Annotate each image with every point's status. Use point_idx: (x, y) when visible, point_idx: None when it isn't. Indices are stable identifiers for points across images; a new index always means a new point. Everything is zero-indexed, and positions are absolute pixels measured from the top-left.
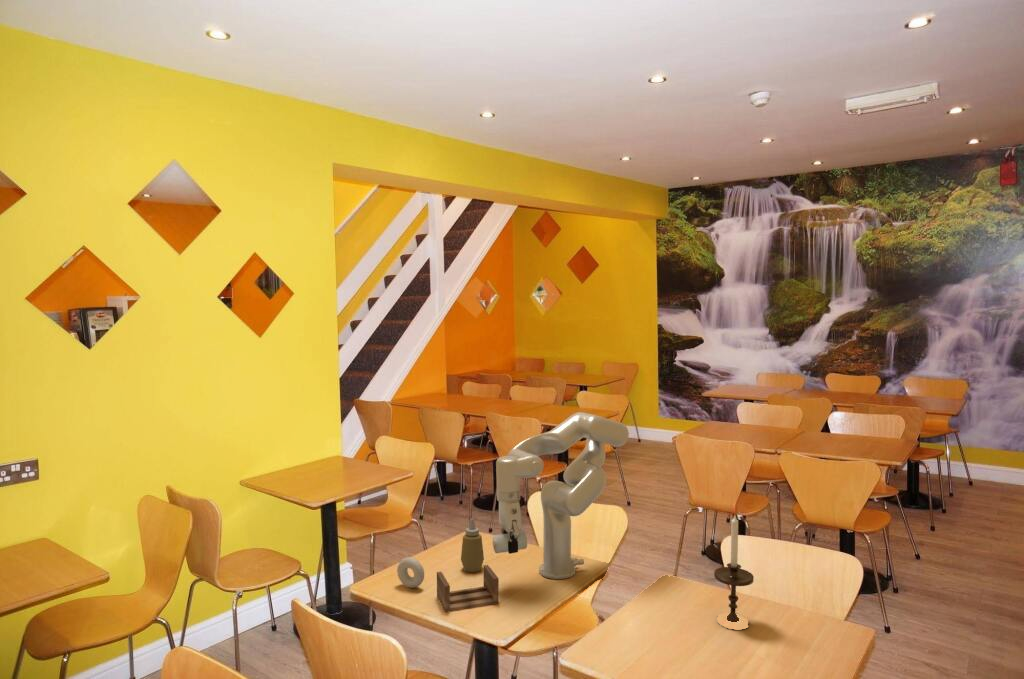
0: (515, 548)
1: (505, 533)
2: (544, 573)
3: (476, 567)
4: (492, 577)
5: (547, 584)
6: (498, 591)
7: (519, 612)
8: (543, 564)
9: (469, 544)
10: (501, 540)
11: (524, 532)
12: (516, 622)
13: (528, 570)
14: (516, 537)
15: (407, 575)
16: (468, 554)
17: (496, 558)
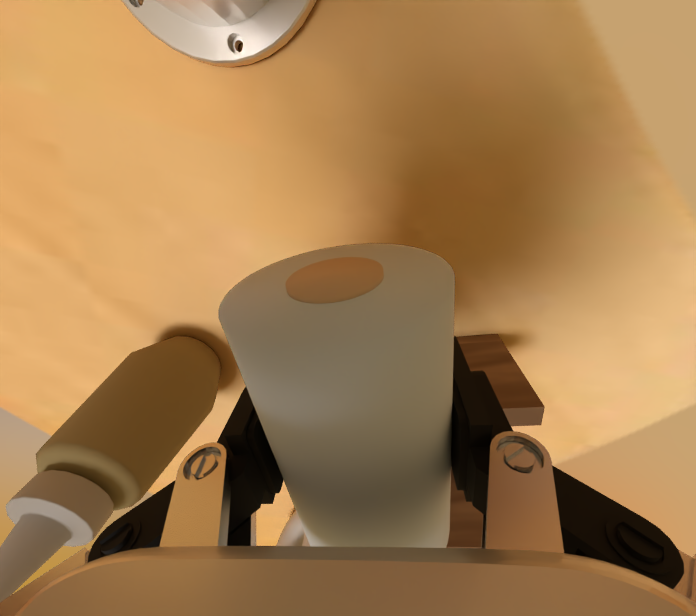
0: (487, 388)
1: (259, 490)
2: (275, 38)
3: (213, 367)
4: (514, 424)
5: (383, 52)
6: (515, 363)
7: (611, 277)
8: (183, 14)
9: (159, 472)
10: (436, 542)
11: (359, 346)
12: (683, 306)
13: (192, 128)
14: (684, 563)
15: (299, 544)
16: (190, 434)
17: (70, 257)
